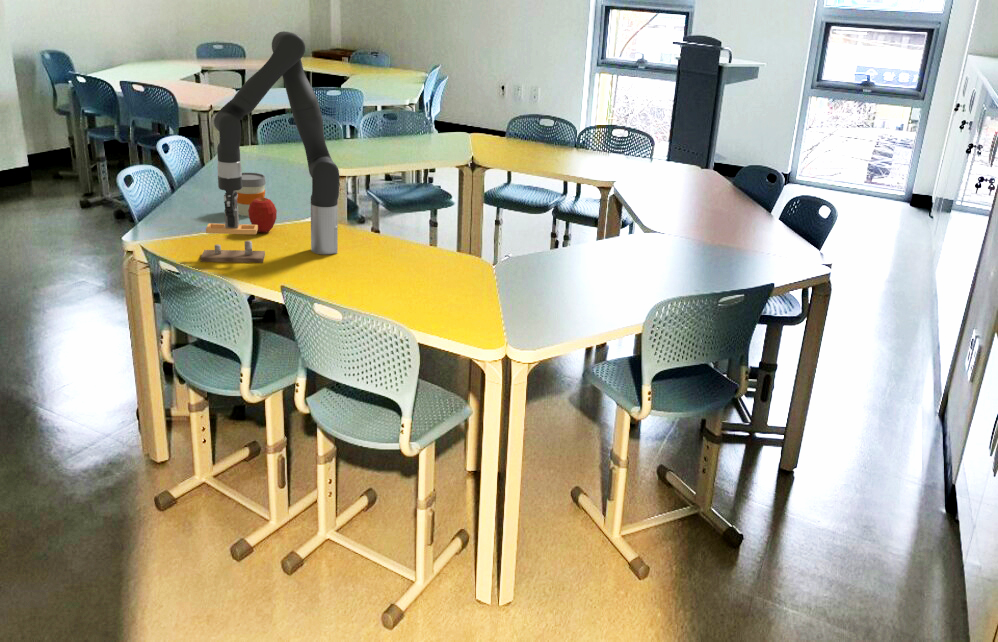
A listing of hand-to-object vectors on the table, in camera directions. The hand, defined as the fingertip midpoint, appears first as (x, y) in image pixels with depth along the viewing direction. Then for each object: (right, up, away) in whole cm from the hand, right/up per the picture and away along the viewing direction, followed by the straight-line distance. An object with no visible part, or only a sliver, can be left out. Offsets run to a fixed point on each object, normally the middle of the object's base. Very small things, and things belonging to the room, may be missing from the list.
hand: (232, 224), depth 284 cm
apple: (+1, +1, +34) cm, 34 cm away
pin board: (-1, -11, +4) cm, 12 cm away
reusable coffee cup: (-10, +11, +54) cm, 56 cm away
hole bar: (0, -2, +1) cm, 2 cm away
